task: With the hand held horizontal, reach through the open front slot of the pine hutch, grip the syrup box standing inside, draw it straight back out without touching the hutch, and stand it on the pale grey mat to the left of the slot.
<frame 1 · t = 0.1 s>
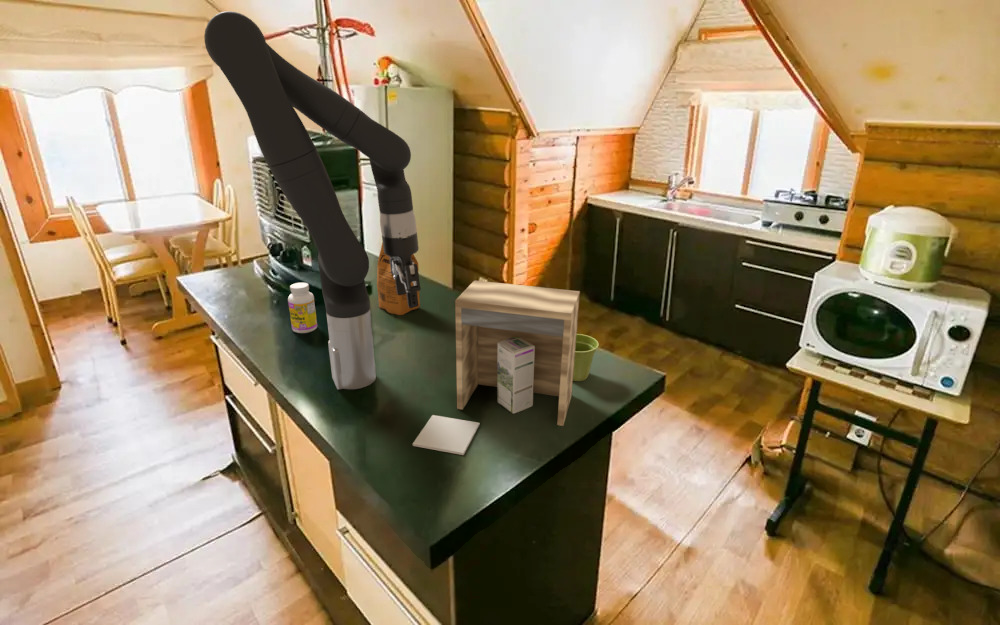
hand: (407, 300, 122), 17 cm above the worktop, tool pointing down, fingers open, 8 cm apart
hutch: (514, 404, 114), on the worktop
syrup box: (514, 405, 114), on the worktop
plant pot: (575, 376, 127), on the worktop
coffee package: (399, 308, 164), on the worktop
supplement bottle: (305, 329, 148), on the worktop
mat: (447, 435, 104), on the worktop
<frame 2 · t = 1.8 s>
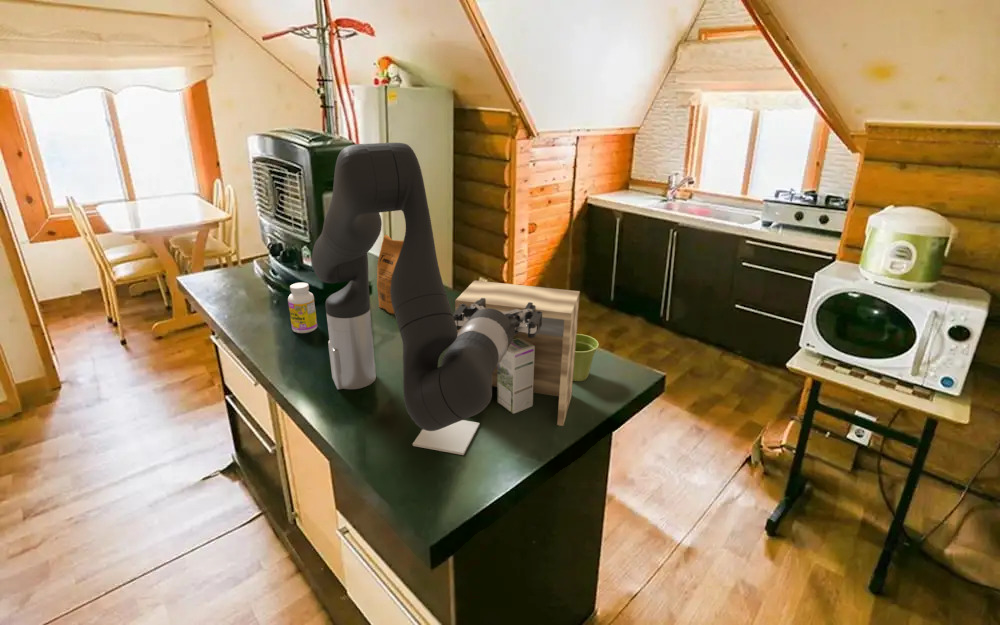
hand: (506, 305, 95), 27 cm above the worktop, tool horizontal, fingers open, 8 cm apart
nothing on the worktop moved.
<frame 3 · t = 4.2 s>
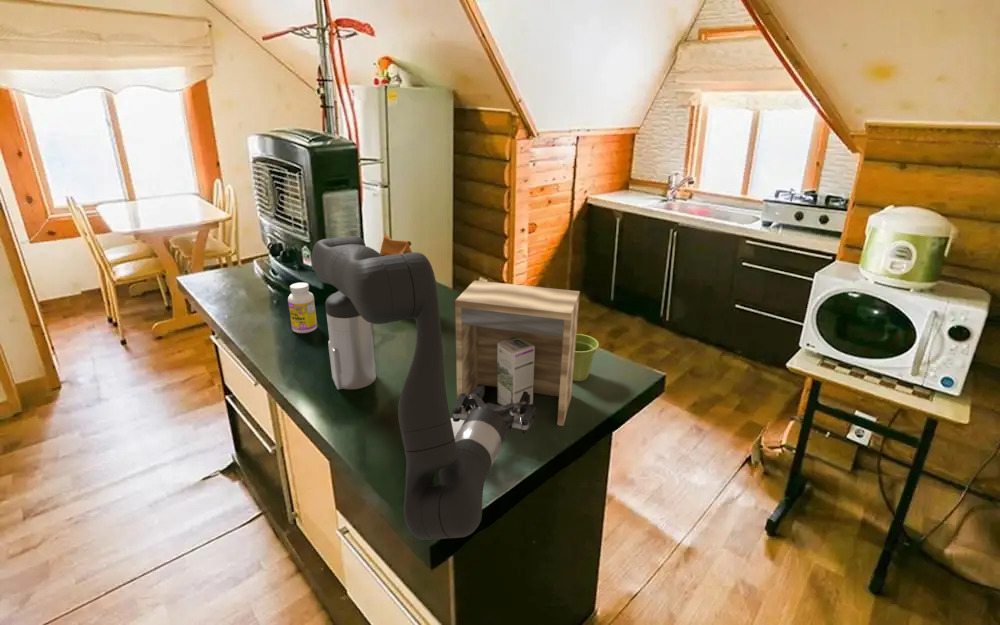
hand: (504, 392, 103), 8 cm above the worktop, tool horizontal, fingers open, 8 cm apart
nothing on the worktop moved.
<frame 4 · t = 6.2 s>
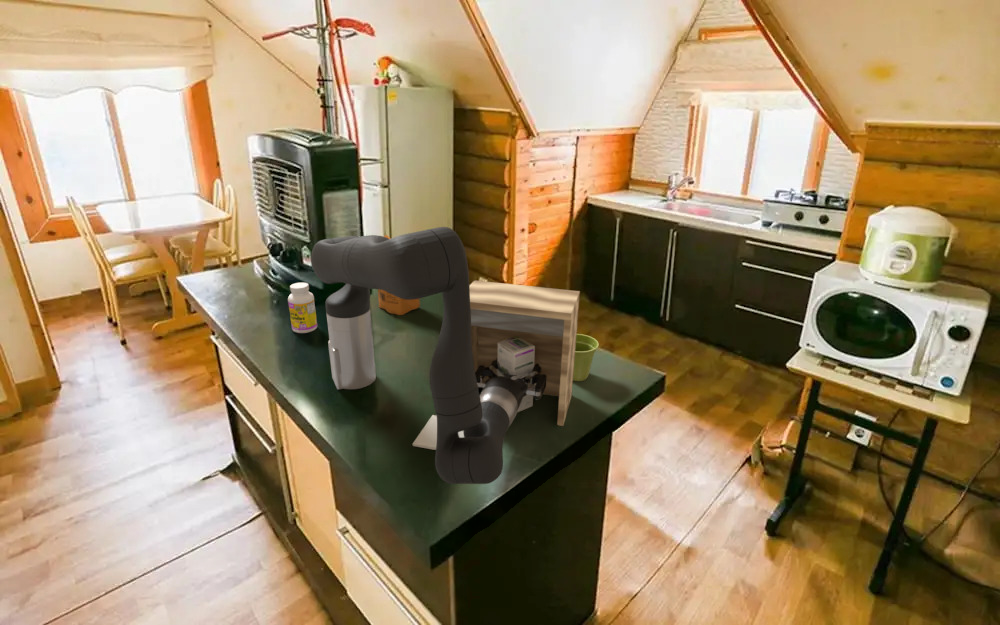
hand: (517, 365, 113), 9 cm above the worktop, tool horizontal, fingers closed on syrup box, 8 cm apart
syrup box: (514, 405, 114), on the worktop, touching gripper
everything else where it was.
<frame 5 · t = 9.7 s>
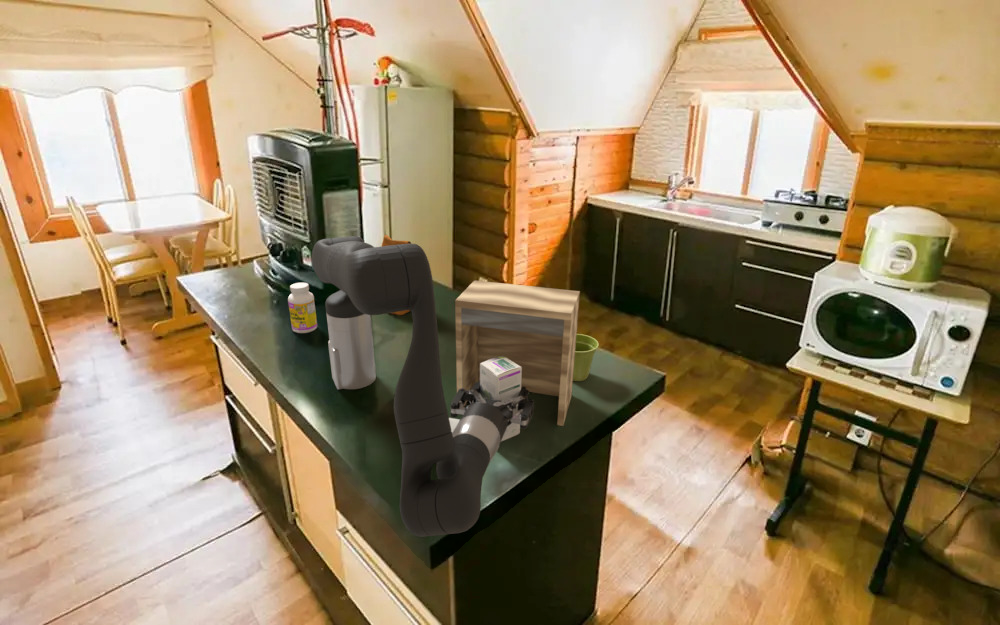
hand: (502, 387, 101), 10 cm above the worktop, tool horizontal, fingers closed on syrup box, 7 cm apart
syrup box: (499, 432, 102), point 1 cm above the worktop, touching gripper
everything else where it was.
when the fingers open (10 cm above the worktop, at t = 13.2 s): syrup box stays where it is, resting on mat.
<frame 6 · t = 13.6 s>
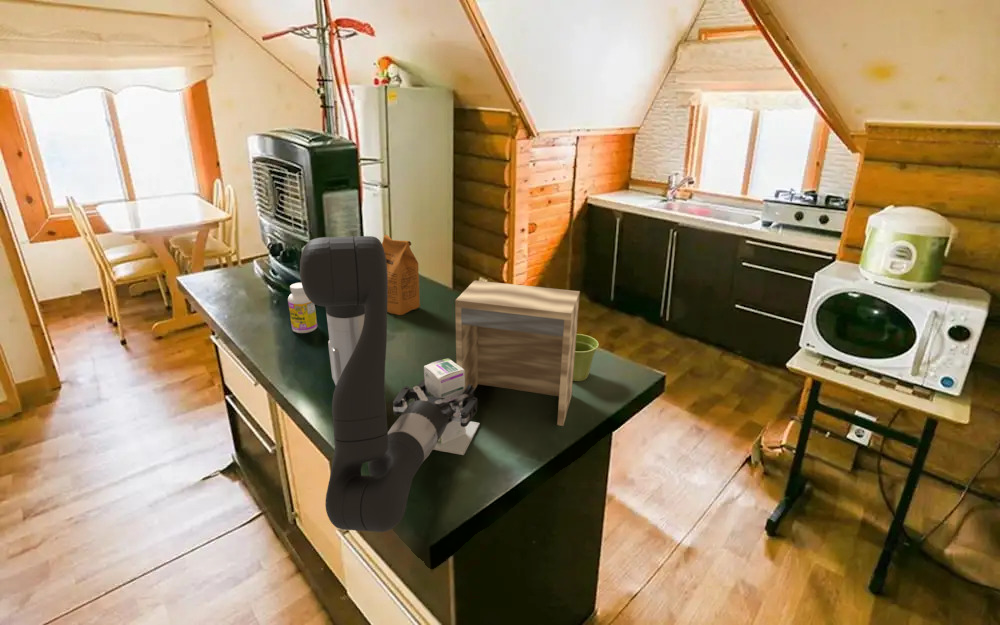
hand: (449, 385, 102), 10 cm above the worktop, tool horizontal, fingers open, 8 cm apart
syrup box: (445, 433, 104), resting on mat, touching gripper
everything else where it was.
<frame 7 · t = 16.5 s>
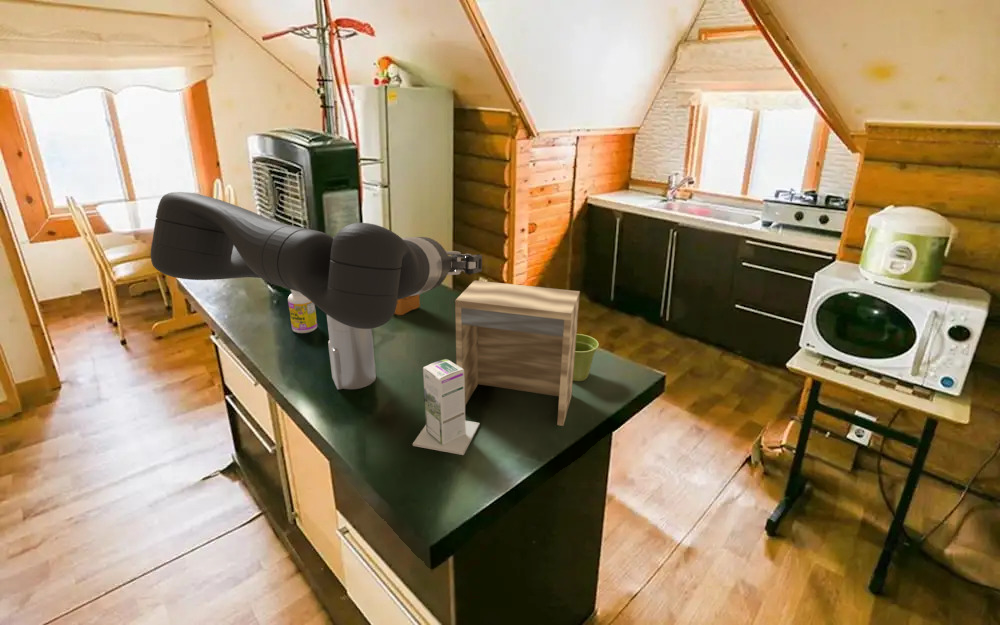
hand: (444, 259, 87), 36 cm above the worktop, tool horizontal, fingers open, 8 cm apart
syrup box: (445, 434, 104), resting on mat
everything else where it was.
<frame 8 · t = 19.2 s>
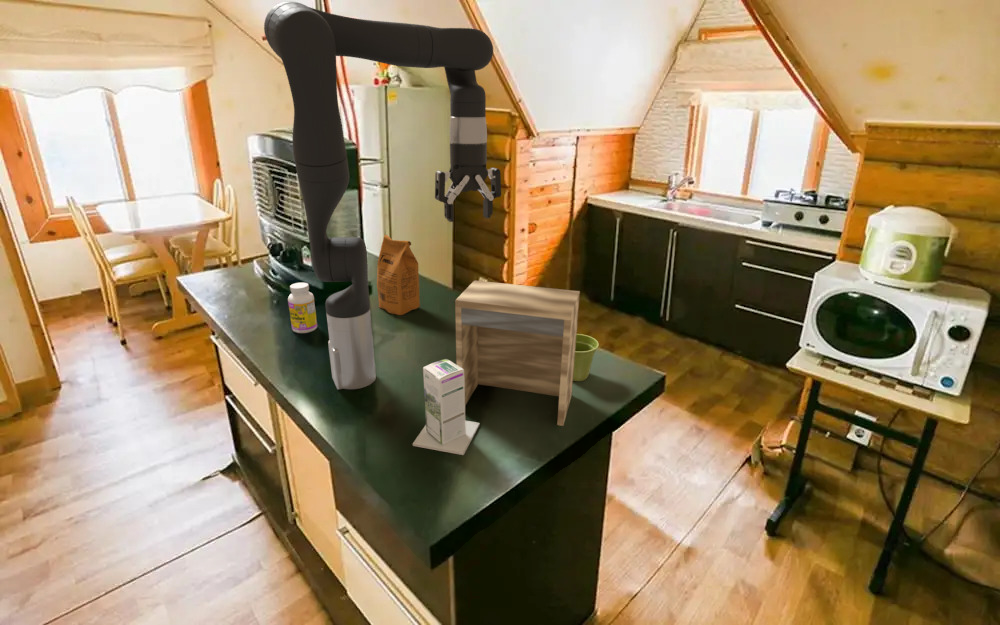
hand: (468, 219, 115), 36 cm above the worktop, tool pointing down, fingers open, 8 cm apart
nothing on the worktop moved.
at the end: syrup box inside the target area on the mat (0.3 cm from its centre), point 0.3 cm above the mat's base; syrup box tilted 0°; the gripper is holding nothing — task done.
